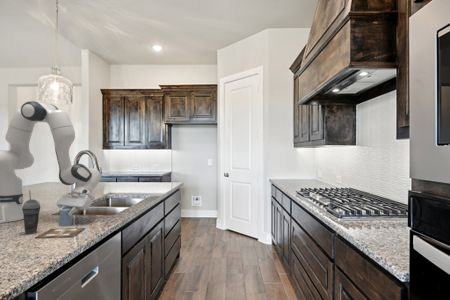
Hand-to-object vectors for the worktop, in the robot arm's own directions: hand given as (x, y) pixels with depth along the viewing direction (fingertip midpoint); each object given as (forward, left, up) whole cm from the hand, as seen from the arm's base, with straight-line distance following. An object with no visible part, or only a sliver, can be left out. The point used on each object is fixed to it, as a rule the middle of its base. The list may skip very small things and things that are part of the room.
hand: (64, 214), depth 144 cm
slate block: (0, +1, -5) cm, 5 cm away
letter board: (+5, -15, -5) cm, 17 cm away
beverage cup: (-10, -12, -6) cm, 17 cm away
